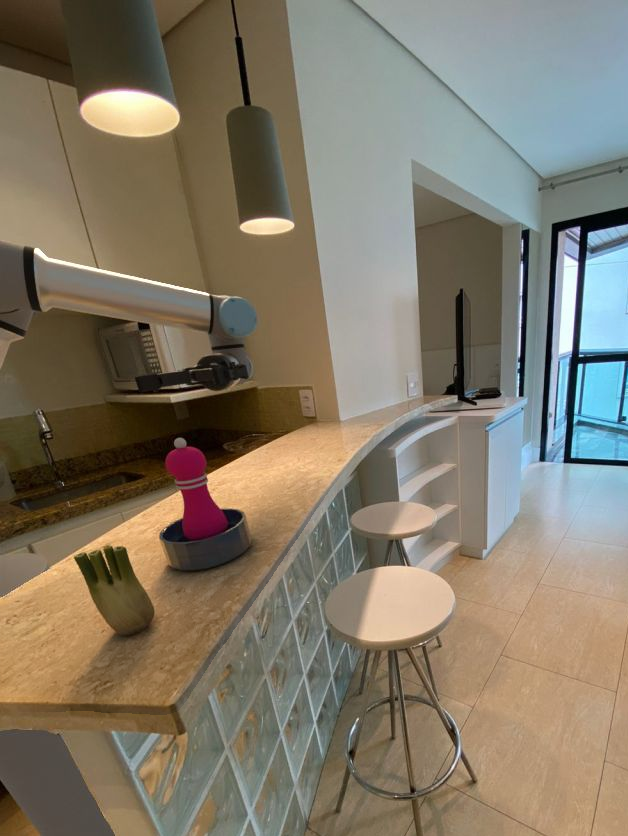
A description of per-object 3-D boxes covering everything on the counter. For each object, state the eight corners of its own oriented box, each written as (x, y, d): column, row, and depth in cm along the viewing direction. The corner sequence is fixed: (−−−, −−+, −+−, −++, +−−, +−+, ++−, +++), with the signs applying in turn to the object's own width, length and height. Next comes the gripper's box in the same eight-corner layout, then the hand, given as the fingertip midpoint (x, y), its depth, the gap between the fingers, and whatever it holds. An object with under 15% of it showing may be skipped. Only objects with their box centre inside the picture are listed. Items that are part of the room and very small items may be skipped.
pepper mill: (209, 538, 77) (177, 433, 69) (241, 540, 75) (212, 431, 67) (181, 557, 71) (142, 444, 63) (215, 560, 68) (179, 443, 60)
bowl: (151, 565, 70) (141, 537, 68) (215, 530, 81) (208, 505, 79) (207, 579, 64) (197, 548, 62) (268, 539, 75) (261, 512, 73)
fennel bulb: (102, 636, 53) (64, 556, 48) (134, 613, 57) (102, 537, 53) (136, 642, 51) (100, 559, 46) (166, 617, 55) (135, 539, 51)
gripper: (278, 383, 92) (253, 395, 72) (169, 395, 92) (114, 409, 73) (271, 347, 89) (243, 349, 69) (158, 360, 89) (99, 365, 70)
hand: (177, 380), depth 71 cm, fingers open, 13 cm apart
